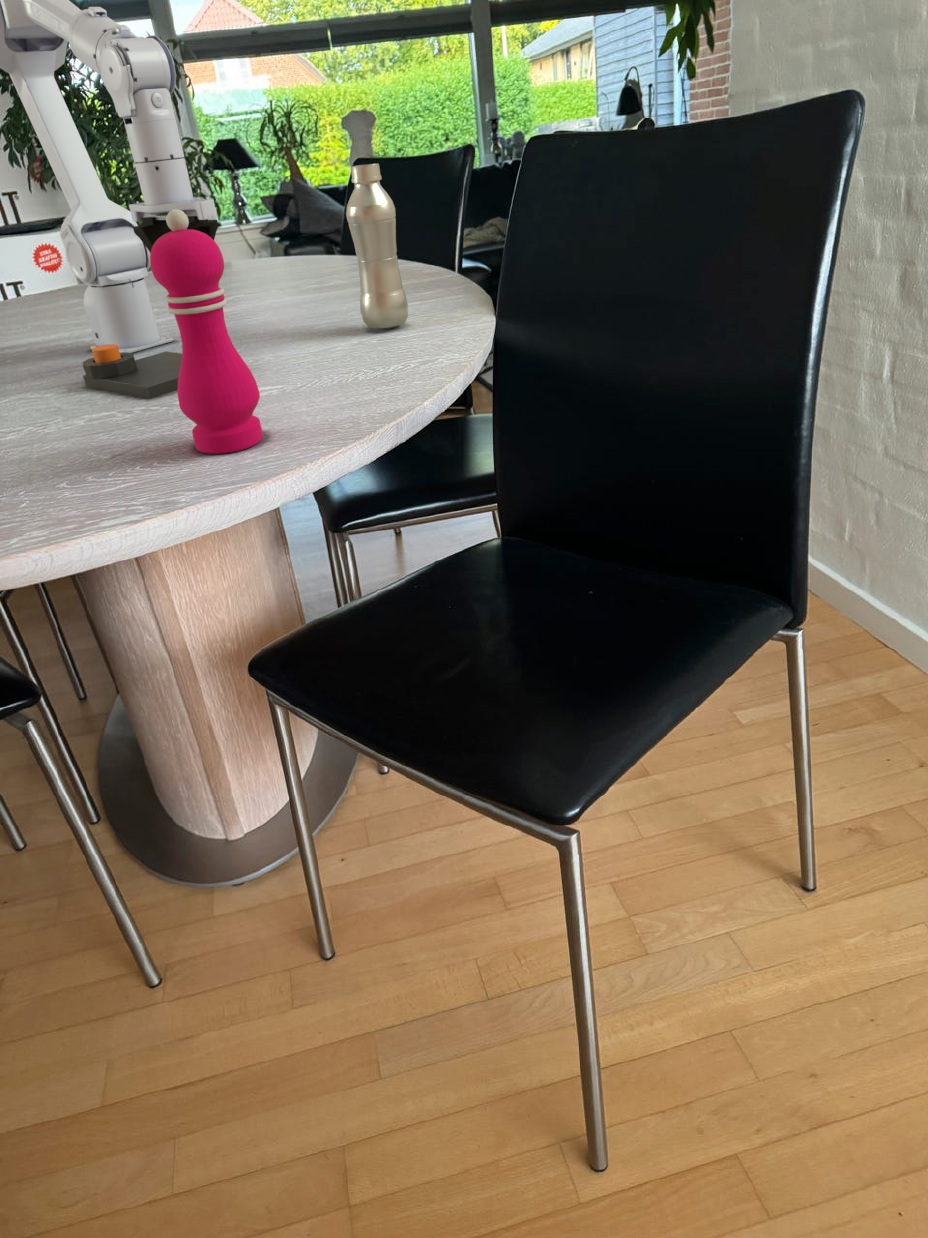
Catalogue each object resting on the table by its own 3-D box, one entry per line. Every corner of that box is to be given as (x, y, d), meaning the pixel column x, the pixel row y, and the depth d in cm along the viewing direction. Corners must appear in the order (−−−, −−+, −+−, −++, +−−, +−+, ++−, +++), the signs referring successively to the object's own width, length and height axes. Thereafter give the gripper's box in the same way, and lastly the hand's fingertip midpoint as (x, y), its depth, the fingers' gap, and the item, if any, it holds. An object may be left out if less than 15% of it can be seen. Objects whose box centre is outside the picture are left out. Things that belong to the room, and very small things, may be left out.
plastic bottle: (420, 323, 120) (401, 160, 110) (391, 334, 115) (368, 166, 105) (383, 321, 123) (361, 163, 113) (353, 332, 119) (328, 169, 109)
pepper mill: (198, 434, 84) (141, 209, 74) (272, 426, 85) (225, 200, 74) (184, 460, 78) (119, 218, 68) (264, 450, 78) (211, 208, 68)
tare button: (91, 363, 105) (86, 349, 104) (113, 357, 107) (108, 343, 106) (104, 366, 103) (100, 351, 102) (126, 359, 105) (122, 344, 104)
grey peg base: (81, 387, 106) (73, 362, 104) (166, 361, 114) (160, 338, 112) (147, 400, 98) (140, 373, 96) (235, 371, 106) (229, 346, 104)
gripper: (225, 153, 100) (251, 278, 106) (153, 160, 108) (181, 275, 115) (174, 159, 95) (204, 289, 102) (102, 166, 103) (135, 286, 110)
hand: (189, 283), depth 108 cm, fingers closed on lemon, 5 cm apart
